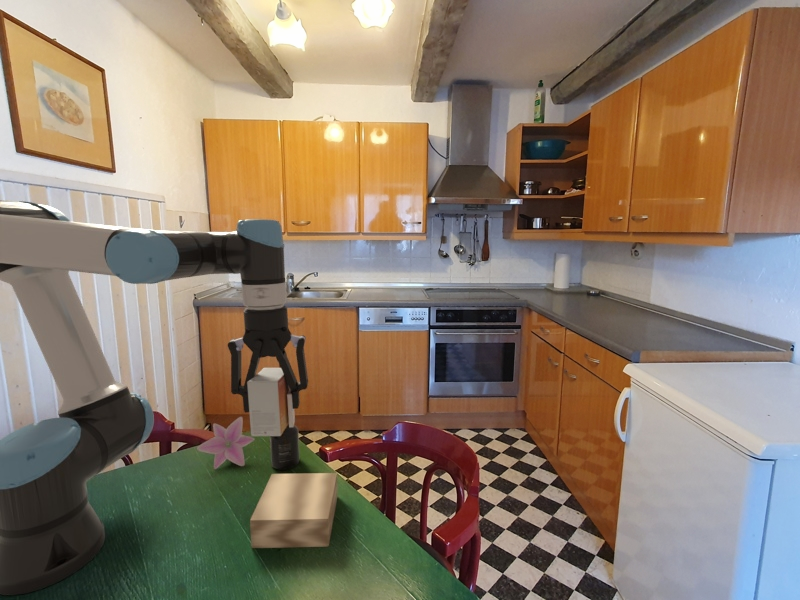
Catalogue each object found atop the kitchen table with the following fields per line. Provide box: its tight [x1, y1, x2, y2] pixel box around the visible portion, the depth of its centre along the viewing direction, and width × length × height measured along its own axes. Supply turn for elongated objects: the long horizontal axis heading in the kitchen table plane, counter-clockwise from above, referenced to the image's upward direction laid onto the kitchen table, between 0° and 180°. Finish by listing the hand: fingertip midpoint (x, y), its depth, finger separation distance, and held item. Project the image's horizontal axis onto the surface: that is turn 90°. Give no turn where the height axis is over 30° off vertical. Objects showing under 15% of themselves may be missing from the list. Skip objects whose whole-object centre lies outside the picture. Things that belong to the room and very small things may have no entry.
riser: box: [249, 472, 338, 549], centre depth 78 cm, size 14×14×6 cm
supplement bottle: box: [269, 424, 300, 471], centre depth 97 cm, size 7×7×12 cm
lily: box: [196, 416, 256, 470], centre depth 99 cm, size 12×12×10 cm
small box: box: [247, 367, 290, 437], centre depth 73 cm, size 8×6×10 cm
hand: (273, 425), depth 74 cm, fingers closed on small box, 6 cm apart
